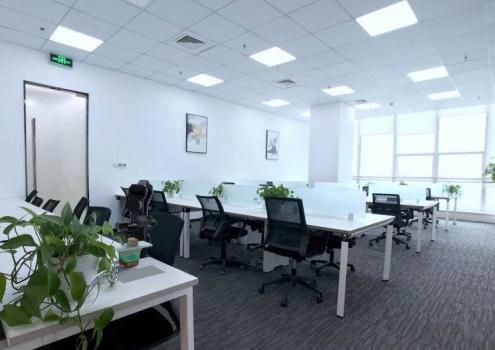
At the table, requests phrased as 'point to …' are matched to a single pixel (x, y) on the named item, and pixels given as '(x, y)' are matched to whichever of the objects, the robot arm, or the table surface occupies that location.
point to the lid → (132, 245)
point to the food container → (129, 258)
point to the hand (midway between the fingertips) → (135, 241)
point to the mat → (138, 273)
